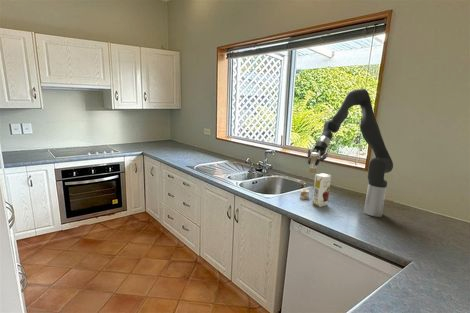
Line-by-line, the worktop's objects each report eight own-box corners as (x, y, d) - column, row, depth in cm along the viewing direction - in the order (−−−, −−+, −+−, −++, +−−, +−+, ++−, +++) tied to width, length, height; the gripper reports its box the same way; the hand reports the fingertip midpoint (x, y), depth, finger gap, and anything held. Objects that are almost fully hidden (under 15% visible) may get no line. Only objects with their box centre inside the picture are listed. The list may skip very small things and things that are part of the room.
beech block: (307, 197, 174) (308, 189, 173) (308, 199, 169) (309, 192, 168) (300, 196, 175) (300, 188, 174) (300, 198, 170) (300, 191, 169)
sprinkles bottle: (308, 171, 177) (310, 152, 174) (314, 171, 177) (316, 152, 174) (310, 173, 172) (312, 153, 169) (317, 173, 173) (319, 153, 170)
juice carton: (310, 203, 162) (313, 174, 158) (319, 201, 167) (322, 172, 163) (320, 208, 156) (323, 177, 152) (329, 205, 161) (333, 175, 157)
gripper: (311, 139, 180) (300, 158, 174) (331, 142, 171) (321, 163, 165) (314, 146, 185) (304, 165, 179) (334, 149, 176) (324, 169, 170)
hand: (312, 164), depth 172 cm, fingers closed on sprinkles bottle, 4 cm apart
